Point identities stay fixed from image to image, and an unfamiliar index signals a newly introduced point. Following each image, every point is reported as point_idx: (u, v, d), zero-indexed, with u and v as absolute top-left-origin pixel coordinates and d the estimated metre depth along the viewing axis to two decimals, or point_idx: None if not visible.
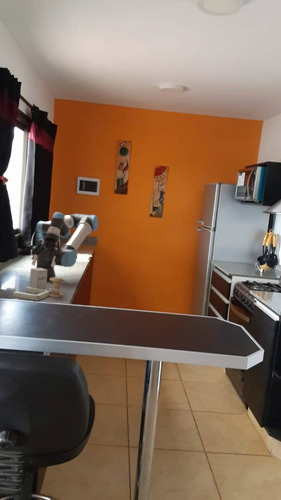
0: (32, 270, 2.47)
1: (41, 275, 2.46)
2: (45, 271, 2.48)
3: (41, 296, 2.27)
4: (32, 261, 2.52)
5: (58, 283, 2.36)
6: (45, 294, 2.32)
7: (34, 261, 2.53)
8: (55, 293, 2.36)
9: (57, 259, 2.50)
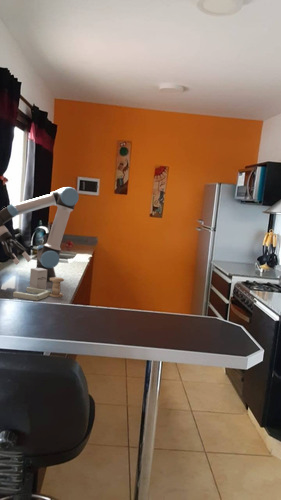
0: (32, 270, 2.47)
1: (41, 275, 2.46)
2: (45, 271, 2.48)
3: (41, 296, 2.27)
4: None
5: (58, 283, 2.36)
6: (45, 294, 2.32)
7: (27, 258, 2.57)
8: (55, 293, 2.36)
9: (11, 256, 2.43)
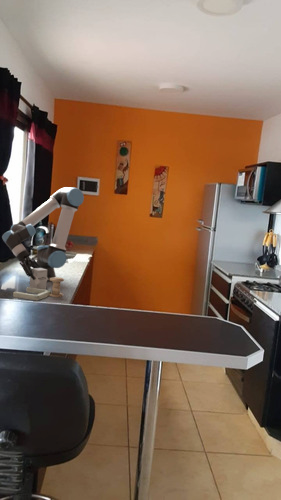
0: (32, 270, 2.47)
1: (41, 275, 2.46)
2: (45, 271, 2.48)
3: (41, 296, 2.27)
4: None
5: (58, 283, 2.36)
6: (45, 294, 2.32)
7: None
8: (55, 293, 2.36)
9: (32, 276, 2.42)
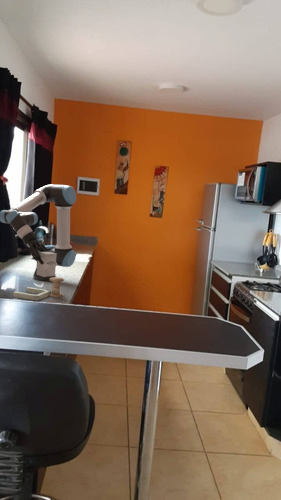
0: (40, 254, 2.21)
1: (50, 259, 2.21)
2: (54, 255, 2.22)
3: (41, 296, 2.27)
4: None
5: (58, 283, 2.36)
6: (45, 294, 2.32)
7: None
8: (55, 293, 2.36)
9: (40, 261, 2.17)
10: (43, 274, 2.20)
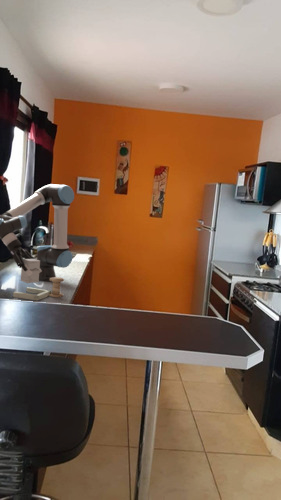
0: (24, 261, 2.29)
1: (34, 266, 2.28)
2: (38, 262, 2.30)
3: (41, 296, 2.27)
4: None
5: (58, 283, 2.36)
6: (45, 294, 2.32)
7: None
8: (55, 293, 2.36)
9: (24, 267, 2.24)
10: (27, 280, 2.27)
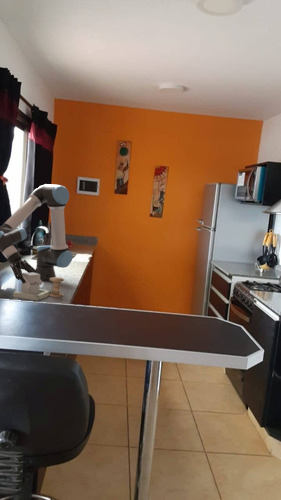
0: (24, 275, 2.30)
1: (34, 280, 2.30)
2: (38, 276, 2.32)
3: (41, 296, 2.27)
4: None
5: (58, 283, 2.36)
6: (45, 294, 2.32)
7: None
8: (55, 293, 2.36)
9: (22, 280, 2.25)
10: None
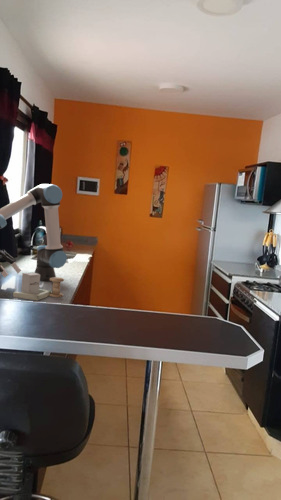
0: (24, 275, 2.30)
1: (34, 280, 2.30)
2: (38, 276, 2.32)
3: (41, 296, 2.27)
4: None
5: (58, 283, 2.36)
6: (45, 294, 2.32)
7: (16, 269, 2.43)
8: (55, 293, 2.36)
9: None
10: None
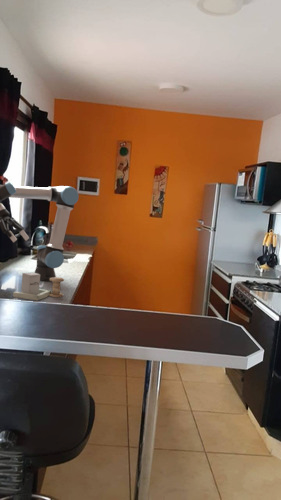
0: (24, 275, 2.30)
1: (34, 280, 2.30)
2: (38, 276, 2.32)
3: (41, 296, 2.27)
4: (24, 238, 2.49)
5: (58, 283, 2.36)
6: (45, 294, 2.32)
7: (24, 236, 2.48)
8: (55, 293, 2.36)
9: (8, 233, 2.34)
10: None
